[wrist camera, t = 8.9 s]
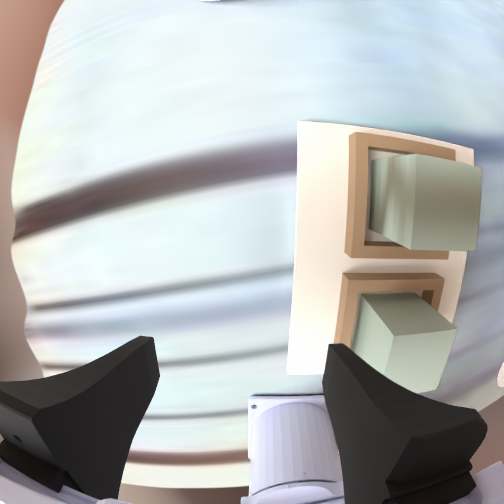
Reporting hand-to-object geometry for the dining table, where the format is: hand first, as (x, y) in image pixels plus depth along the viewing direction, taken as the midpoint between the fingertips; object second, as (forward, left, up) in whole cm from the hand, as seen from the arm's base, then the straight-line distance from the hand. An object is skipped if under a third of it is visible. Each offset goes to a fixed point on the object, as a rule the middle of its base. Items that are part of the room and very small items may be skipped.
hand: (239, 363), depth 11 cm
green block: (+7, -10, -8) cm, 15 cm away
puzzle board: (+2, -10, -9) cm, 14 cm away
